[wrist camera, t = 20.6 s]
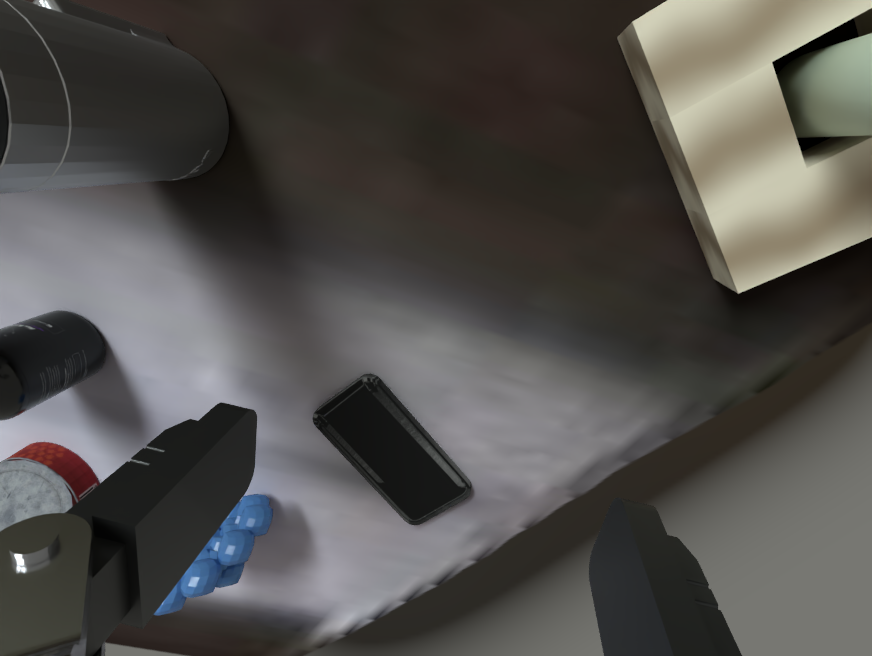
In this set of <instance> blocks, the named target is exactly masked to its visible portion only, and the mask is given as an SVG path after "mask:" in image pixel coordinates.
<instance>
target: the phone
mask: <svg viewBox="0 0 872 656" xmlns="http://www.w3.org/2000/svg"><path fill="white" fill-rule="evenodd" d="M313 422H314V424H315V426H316V427H317V428H318V429H319V430H320V431H321V432H322V434H323V435H324V436H325V437H326V438H327V439H328V440H329V441H330V442H331V443H332V444H333V445H334V446H335V447H336V448H337V449H338V450H339V452H340V453H341V454H342V455H343V456H344V457H345V458H346V459H347V460H348V461H349V462H350V463H351V464H352V465H353V466H354V467H355V468H356V470H357V471H358V472H359V473H360V474H361V475H362V476H363V477H364V478H365V479H366V480H367V481H368V482H369V483H370V484H371V485H372V487H373V488H374V489H375V490H376V491H377V492H378V493H379V494H380V495H381V496H382V497H383V498H384V499H385V500H386V501H387V502H388V504H389V505H390V506H391V507H392V508H393V509H394V510H395V511H396V512H397V513H398V514H399V515H400V516H401V517H402V518H403V519H404V521H406V522H407V523H409V524H411V525H419V524H422V523H423V522H425V521H427V520H429V519H431V518H432V517H434V516H436V515H438V514H439V513H441V512H443V511H445V510H446V509H448V508H450V507H452V506H454V505H455V504H457V503H459V502H461V501H462V500H464V499H466V498H467V497H468V496H469V495H470V492H471V482H470V481H469V479H468V478H467V477H466V476H465V475H464V473H463V472H462V471H461V470H460V469H459V468H458V467H457V465H456V464H455V463H454V462H453V461H452V460H451V459H450V458H449V456H448V455H447V454H446V453H445V452H444V451H443V450H442V448H441V447H440V446H439V445H438V444H437V443H436V442H435V441H434V439H433V438H432V437H431V436H430V435H429V434H428V433H427V431H426V430H425V429H424V428H423V427H422V426H421V425H420V424H419V422H418V421H417V420H416V419H415V418H414V417H413V416H412V414H411V413H410V412H409V411H408V410H407V409H406V408H405V407H404V405H403V404H402V403H401V402H400V401H399V400H398V399H397V397H396V396H395V395H394V394H393V393H392V392H391V391H390V389H389V388H388V387H387V386H386V385H385V384H384V383H383V382H382V380H381V379H380V378H379V377H377V376H375V375H373V374H365V375H363V376H361V377H360V378H359V379H357V380H356V381H355V382H353V383H352V384H351V385H349V386H348V387H346V388H345V389H344V390H342V391H341V392H340V393H338V394H337V395H335V396H334V397H333V398H331V399H330V400H329V401H327V402H326V403H325V404H323V405H322V406H320V407H319V408H318V409H317V411H316V412H315V413H314V415H313Z"/></svg>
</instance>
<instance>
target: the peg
mask: <svg viewBox="0 0 872 656" xmlns="http://www.w3.org/2000/svg"><path fill="white" fill-rule="evenodd" d="M776 76H777V79H778V82H779V85H780V88H781V91H782V94H783V97H784V101H785V104H786V107H787V110H788V113H789V116H790V119H791V122H792V125H793V128H794V131H795V134H796V137H797V138H808V137H837V136H866V135H872V33H870V34H867V35H864V36H861V37H858V38H854V39H851V40H848V41H845V42H842V43H838V44H835V45H832V46H829V47H826V48H822V49H819V50H816V51H813V52H809V53H806V54H804V55H801V56H799V57H797V58H795V59H794V60H792V61H791V62H789V63H788V64H787V65H786V66H784V67H783V68H782V69H781V70H780V72H779V73H778V74H777V75H776Z"/></svg>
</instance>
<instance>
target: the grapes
mask: <svg viewBox="0 0 872 656" xmlns="http://www.w3.org/2000/svg"><path fill="white" fill-rule="evenodd" d="M272 517H273V509H272V508H271V507H270V506H269V499H268V497H267V496H265V495H259V494H254V495H248V496H243V498H242V500H241V502H238V503H237V505H236V506H235V507H234V509H233V510H232V511H231V513H230V514H229V515H228V517H227V518H226V519H225V521H224V522H223V523H222V525H221V526H220V527H219V529H218V530H217V531H216V533H215V534H214V535H213V536H212V538H211V539H210V540H209V542H208V543H207V544H206V546H205V547H204V548H203V550H202V551H201V552H200V554H199V555H198V556H197V558H196V559H195V560H194V562H193V563H192V564H191V566H190V567H189V568H188V570H187V571H186V572H185V574H184V575H183V576H182V578H181V579H180V580H179V582H178V583H177V584H176V586H175V587H174V588H173V590H172V591H171V592H170V594H169V595H168V596H167V597H166V599H165V600H164V601H163V603H162V604H161V605H160V607H159V608H158V609H157V611H156V612H155V613H154V615H163V614H167V613H172V612H175V611H178V610H180V609H182V607H183V605H184V603H185V600H186V598H187V597H190V598H193V597H198V596H202V595H206V594H209V593H211V592H213V591H214V589H215V587H218V588H221V587H225V586H230V585H233V584H236V583H238V581H239V579H240V577H241V574H242V571H243V568H244V562H246V561H247V560H248V558H249V556H250V554H251V551H252V548H253V546H254V537H256V536H260V535H264V534H266V533H267V531H268V529H269V526H270V523H271V520H272Z"/></svg>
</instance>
